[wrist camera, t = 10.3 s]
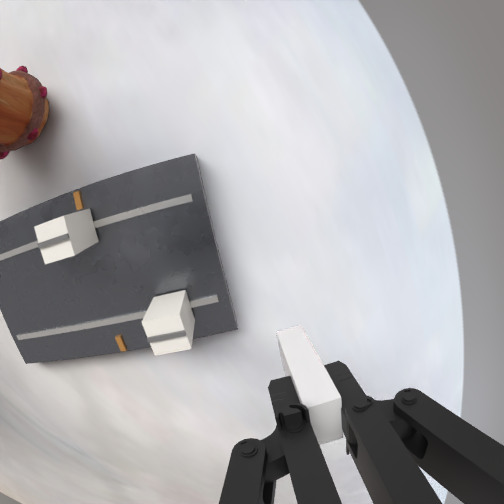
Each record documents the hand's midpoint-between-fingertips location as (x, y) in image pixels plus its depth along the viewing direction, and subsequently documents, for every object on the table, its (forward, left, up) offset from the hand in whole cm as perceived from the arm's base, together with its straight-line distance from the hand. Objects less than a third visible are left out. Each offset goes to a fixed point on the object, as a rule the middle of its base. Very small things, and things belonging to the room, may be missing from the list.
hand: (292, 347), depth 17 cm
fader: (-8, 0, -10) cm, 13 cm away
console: (-16, +5, -12) cm, 21 cm away
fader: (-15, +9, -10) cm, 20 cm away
